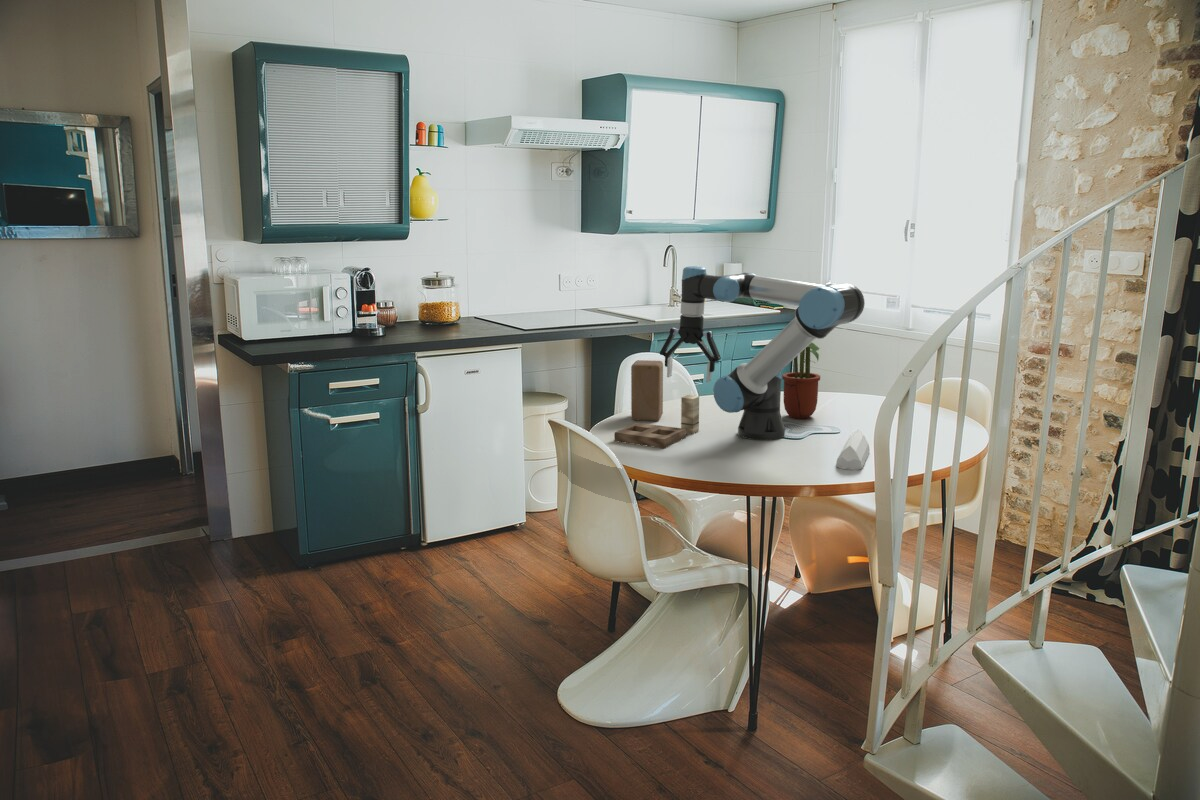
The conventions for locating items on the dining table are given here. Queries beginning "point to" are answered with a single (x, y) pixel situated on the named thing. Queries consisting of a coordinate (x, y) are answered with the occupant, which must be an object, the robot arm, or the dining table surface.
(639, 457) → the dining table surface
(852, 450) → the crystal
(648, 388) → the wooden block
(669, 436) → the walnut board
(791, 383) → the potted plant
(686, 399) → the beech peg
